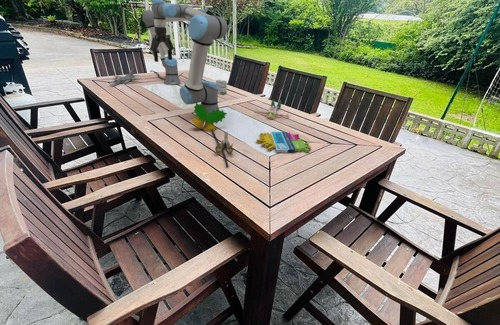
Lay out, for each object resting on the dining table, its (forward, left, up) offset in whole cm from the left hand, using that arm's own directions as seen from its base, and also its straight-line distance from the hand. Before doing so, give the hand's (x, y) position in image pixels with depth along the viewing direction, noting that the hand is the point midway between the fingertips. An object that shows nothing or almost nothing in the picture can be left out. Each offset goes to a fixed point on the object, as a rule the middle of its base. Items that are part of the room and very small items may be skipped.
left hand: (202, 50), depth 272 cm
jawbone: (+115, -132, -30) cm, 177 cm away
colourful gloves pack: (+136, -104, -30) cm, 174 cm away
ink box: (+48, -36, -30) cm, 67 cm away
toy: (+110, -58, -30) cm, 128 cm away
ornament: (+90, -111, -30) cm, 146 cm away
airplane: (-45, -64, -30) cm, 84 cm away
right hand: (+37, -93, +3) cm, 100 cm away
